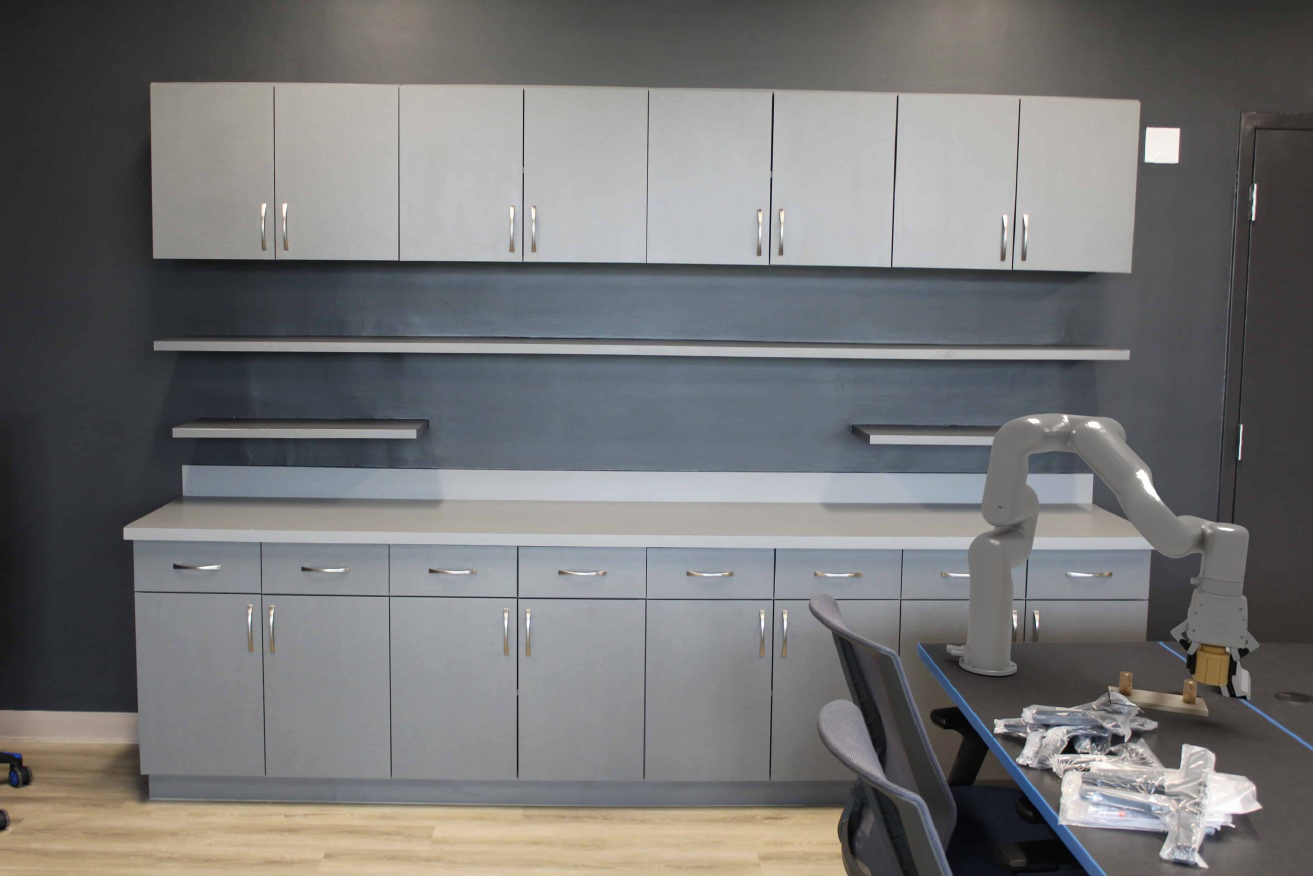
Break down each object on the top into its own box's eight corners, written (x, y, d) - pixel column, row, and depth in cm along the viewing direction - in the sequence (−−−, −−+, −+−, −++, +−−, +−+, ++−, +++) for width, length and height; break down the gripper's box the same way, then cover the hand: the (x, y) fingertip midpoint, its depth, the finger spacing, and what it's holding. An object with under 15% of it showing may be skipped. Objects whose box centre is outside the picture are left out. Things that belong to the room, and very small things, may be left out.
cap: (1194, 682, 195) (1198, 647, 194) (1190, 672, 200) (1194, 638, 199) (1229, 687, 192) (1233, 652, 192) (1224, 678, 198) (1228, 643, 197)
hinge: (1250, 702, 209) (1235, 656, 210) (1225, 705, 212) (1211, 659, 212) (1250, 678, 224) (1237, 635, 224) (1227, 681, 226) (1213, 639, 227)
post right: (1183, 703, 204) (1184, 682, 204) (1181, 699, 206) (1183, 678, 206) (1196, 705, 203) (1198, 684, 203) (1194, 701, 206) (1196, 680, 205)
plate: (1110, 703, 207) (1110, 698, 207) (1108, 691, 214) (1108, 686, 214) (1208, 717, 200) (1208, 711, 200) (1202, 704, 208) (1202, 698, 208)
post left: (1119, 695, 209) (1120, 674, 208) (1118, 691, 211) (1119, 670, 210) (1131, 696, 208) (1133, 675, 207) (1130, 693, 210) (1132, 672, 209)
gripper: (1173, 584, 194) (1163, 674, 196) (1275, 597, 187) (1263, 689, 190) (1169, 576, 201) (1159, 662, 203) (1267, 588, 194) (1256, 677, 197)
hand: (1210, 674), depth 196 cm, fingers closed on cap, 5 cm apart
